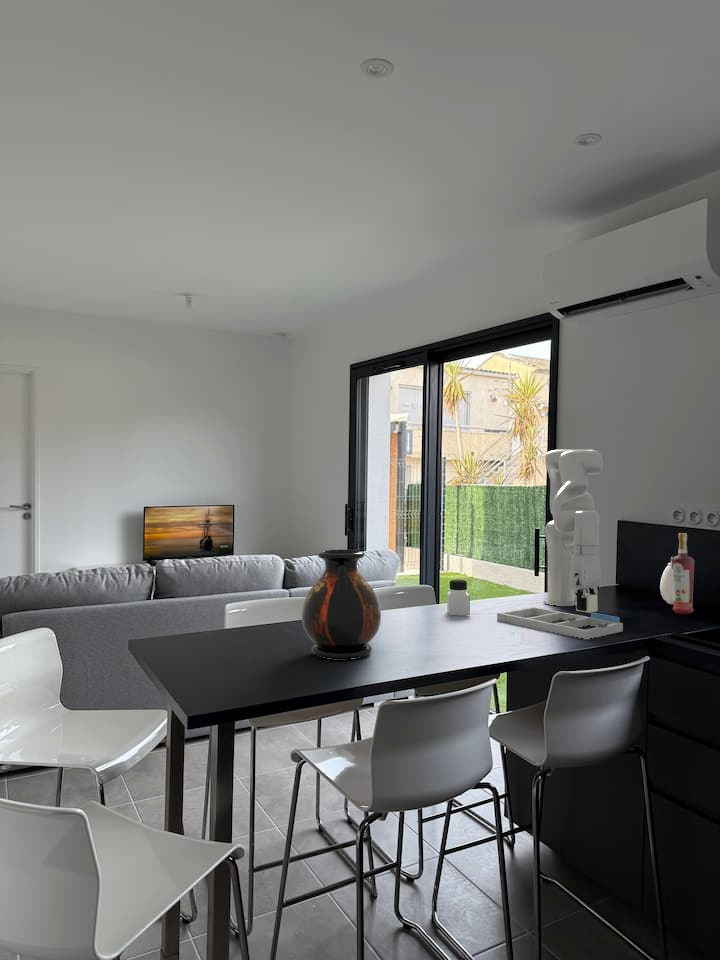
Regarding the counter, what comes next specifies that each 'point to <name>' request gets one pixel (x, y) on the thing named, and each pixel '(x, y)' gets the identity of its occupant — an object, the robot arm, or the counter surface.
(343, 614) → the black and orange vase
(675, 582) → the liquor
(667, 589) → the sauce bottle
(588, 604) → the cream matte cube
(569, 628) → the compartment tray
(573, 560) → the robot arm
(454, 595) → the medicine bottle
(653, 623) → the counter surface
